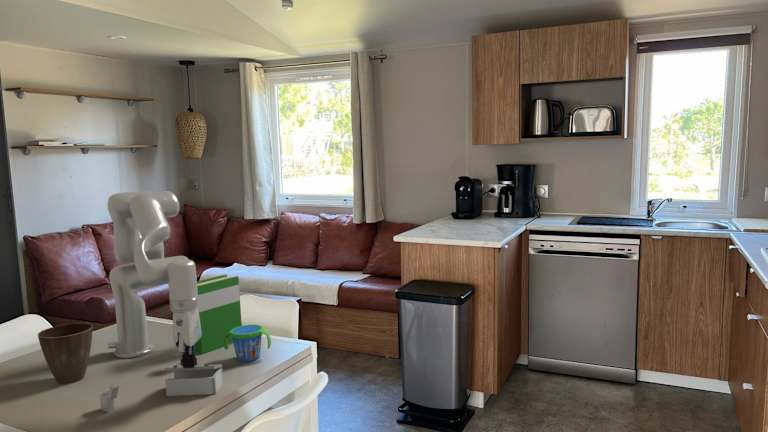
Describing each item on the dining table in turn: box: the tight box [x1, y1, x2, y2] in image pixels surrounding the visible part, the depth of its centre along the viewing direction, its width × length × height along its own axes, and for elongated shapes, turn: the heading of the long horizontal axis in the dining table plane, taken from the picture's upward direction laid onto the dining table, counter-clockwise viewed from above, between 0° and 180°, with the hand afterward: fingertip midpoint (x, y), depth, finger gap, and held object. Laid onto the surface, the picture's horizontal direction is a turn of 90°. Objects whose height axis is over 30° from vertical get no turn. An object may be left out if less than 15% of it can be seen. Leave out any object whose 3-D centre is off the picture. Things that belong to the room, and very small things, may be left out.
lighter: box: [99, 383, 120, 413], centre depth 152 cm, size 7×2×8 cm, turn 56°
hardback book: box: [195, 274, 243, 355], centre depth 202 cm, size 18×7×24 cm, turn 144°
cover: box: [164, 363, 223, 372], centre depth 164 cm, size 14×8×1 cm, turn 90°
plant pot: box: [37, 322, 94, 385], centre depth 175 cm, size 15×15×16 cm
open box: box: [164, 366, 224, 397], centre depth 164 cm, size 14×8×5 cm, turn 90°
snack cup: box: [223, 324, 272, 363], centre depth 188 cm, size 16×10×10 cm
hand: (189, 366), depth 160 cm, fingers closed
